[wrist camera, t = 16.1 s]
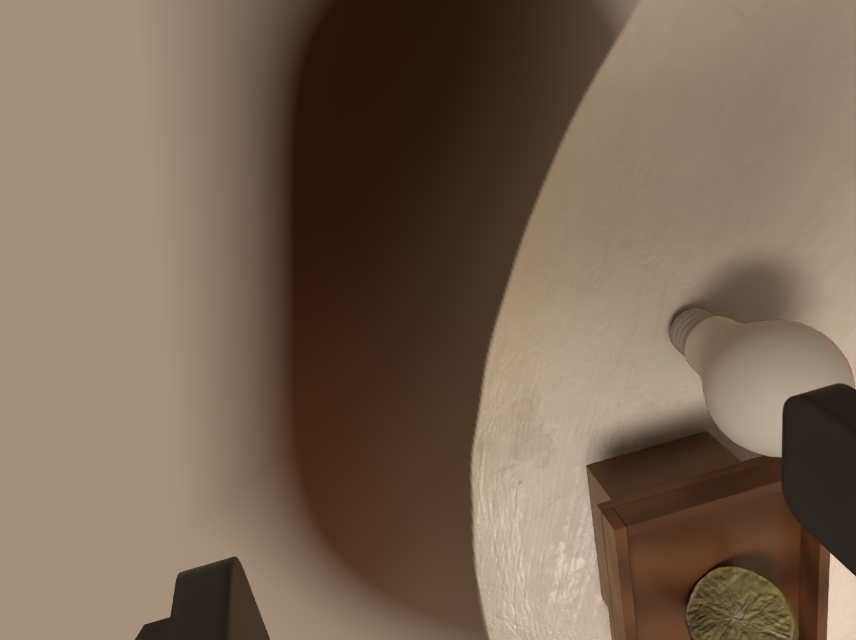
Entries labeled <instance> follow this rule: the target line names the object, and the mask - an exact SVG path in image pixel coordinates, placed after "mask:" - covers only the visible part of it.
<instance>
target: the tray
mask: <svg viewBox="0 0 856 640" xmlns="http://www.w3.org/2000/svg"><path fill="white" fill-rule="evenodd" d="M781 470H782V457H769V456H765V455H764V456H760V457H757V458H753V459H750V460H747V461H743V462H741V461H740V460H739V459H737V458H736V457H735V456H734V455H733V454H732V453H731V452H730V451H728V450H727V449H726V448H725V447H724V446H723V445H722V444H721V443H719V442H718V441H717V440H716V439H715V438H714V437H713V436H712V435H710V434H709V433H708V432H704V433H701V434H697V435H694V436H690V437H686V438H683V439H679V440H676V441H672V442H669V443H665V444H662V445H658V446H655V447H651V448H648V449H644V450H641V451H637V452H634V453H630V454H627V455H623V456H620V457H616V458H613V459H609V460H606V461H602V462H599V463H595V464H592V465H588V466H587V475H588V484H589V492H590V501H591V509H592V517H593V526H594V534H595V543H596V551H597V560H598V568H599V576H600V585H601V593H602V598H603V600H604V602H605V603H606V605H607V607H608V609H609V618H610V627H611V635H612V640H691V638H690V636H689V631H688V629H687V626H686V623H685V615H686V614H687V606H688V603H689V600H690V596H691V594H692V592H693V590H694V588H695V586H696V584H697V583H698V582H699V581H700V580H701V579H702V578H703V577H705V576H706V575H707V574H708V573H709V572H711V571H712V570H714V569H717V568H719V567H727V566H729V567H739V568H744V569H749V570H752V571H755V572H756V573H758V574H760V575H762V576H764V577H765V578H767V579H768V580H770V581H771V582H772V583H774V584H776V585H777V586H778V587H779V588H780V589H781V590H782V591H783V593H784V594H785V595H786V597H787V599H788V601H789V603H790V605H791V608H792V610H793V612H794V614H795V617H796V619H797V623H798V629H799V637H798V640H827V617H828V591H829V566H830V552H829V551H828V550H827V549H826V548H825V547H824V546H823V545H822V544H821V543H819V542H818V541H817V540H816V539H815V538H814V537H813V536H812V535H811V534H810V533H809V532H808V531H807V530H805V529H804V528H803V527H802V526H801V525H800V524H799V523H798V521H797V520H796V519H795V517H794V516H793V514H792V513H791V511H790V509H789V507H788V505H787V503H786V501H785V498H784V495H783V491H782V484H781Z"/></svg>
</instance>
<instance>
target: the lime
mask: <svg viewBox="0 0 856 640" xmlns="http://www.w3.org/2000/svg"><path fill="white" fill-rule="evenodd" d="M685 623H686V626H687V629H688V631H689V636H690V638H691V640H798V637H799V629H798V623H797V619H796V617H795V614H794V612H793V610H792V608H791V605H790V603H789V601H788V599H787V597H786V595H785V594H784V593H783V591H782V590H781V589H780V588H779V587H778V586H777V585H776V584H774V583H772V582H771V581H770V580H768V579H767V578H765V577H764V576H762V575H760V574H758V573H756V572H755V571H752V570H749V569H744V568H739V567H729V566H727V567H719V568H717V569H714V570H712V571H711V572H709V573H708V574H707V575H706V576H705V577H703V578H702V579H701V580H700V581H699V582H698V583H697V584H696V586H695V588H694V590H693V592H692V594H691V596H690V600H689V603H688V606H687V614H686V615H685Z"/></svg>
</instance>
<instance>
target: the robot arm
mask: <svg viewBox="0 0 856 640" xmlns="http://www.w3.org/2000/svg"><path fill="white" fill-rule="evenodd" d="M781 484H782V491H783V495H784V498H785V501H786V503H787V505H788V507H789V509H790V511H791V513H792V514H793V516H794V517H795V519H796V520H797V521H798V523H799V524H800V525H801V526H802V527H803V528H804V529H805V530H807V531H808V532H809V533H810V534H811V535H812V536H813V537H814V538H815V539H816V540H817V541H818V542H819V543H821V544H822V545H823V546H824V547H825V548H826V549H827V550H828V551H829V552H830V553H831V554H832V555H833V556H835V557H836V558H837V559H838V560H839V561H840V562H841V563H842V564H843V565H844V566H845V567H846V568H847V569H849V570H850V571H851V572H852V573H853V574H854V575H855V576H856V389H854V388H852V387H851V386H849V385H846V384H843V383H836V384H832V385H829V386H826V387H822V388H819V389H815V390H812V391H808V392H805V393H801V394H798V395H795V396H791V397H789V398H788V399H787V400H786V401H785V403H784V406H783V412H782V470H781ZM135 640H270V639H269V636H268V633H267V630H266V628H265V625H264V622H263V620H262V617H261V614H260V612H259V609H258V607H257V604H256V601H255V598H254V596H253V593H252V591H251V588H250V585H249V583H248V580H247V577H246V575H245V572H244V569H243V567H242V565H241V563H240V561H239V559H238V558H237V557H231V558H228V559H224V560H221V561H218V562H214V563H211V564H207V565H204V566H200V567H197V568H193V569H190V570H187V571H183V572H180V573H179V574H178V576H177V579H176V584H175V591H174V597H173V604H172V610H171V616H170V617H169V618H166V619H163V620H159V621H156V622H153V623H149V624H146V625H144V626H143V628H142V629H141V631H140V633H139V634H138V636H137V638H136V639H135Z"/></svg>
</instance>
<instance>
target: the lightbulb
mask: <svg viewBox="0 0 856 640" xmlns="http://www.w3.org/2000/svg"><path fill="white" fill-rule="evenodd" d="M670 340H671V342H672V344H673V346H674V347H675V348H676V349H677V350H678V351H679V352H680V353H681V354H683V355H684V356H685V357H686V360H687V362H688V364H689V365H690V366H691V367H692V368H693V369H694V370H695V371H696V372H697V373H698V375H699V376H700V377H701V379H702V386H703V393H704V397H705V402H706V405H707V409H708V412H709V413H710V415H711V417H712V418H713V420H714V422H715V423H716V425H717V426H718V428H719V429H720V430H721V431H722V432H723V433H724V434H725V435H726V436H727V437H728V438H729V439H730V440H731V441H733V442H734V443H736V444H738V445H739V446H741V447H743V448H745V449H747V450H749V451H751V452H755V453H758V454H762V455H765V456H769V457H782V412H783V406H784V403H785V401H786V400H787V399H788V398H789V397H791V396H795V395H798V394H801V393H805V392H808V391H812V390H815V389H819V388H822V387H826V386H829V385H832V384H836V383H843V384H846V385H849V386H851V387H852V388H854V389H855V383H854V378H853V374H852V370H851V367H850V365H849V363H848V360H847V359H846V357H845V356H844V354H843V353H842V352H841V350H840V349H839V348H838V347H837V345H836V344H835V343H834V342H833V341H831V340H830V339H829V338H828V337H827V336H825V335H824V334H823V333H821V332H820V331H818V330H816V329H814V328H812V327H810V326H807V325H804V324H802V323H798V322H793V321H787V320H768V321H758V322H752V323H748V324H743V323H739V322H736V321H734V320H732V319H730V318H727V317H721V316H715V315H713V314H711V313H710V312H707V311H705V310H702V309H698V308H693V309H689V310H686V311H684V312H683V313H681V314H680V315H679V316H678V317H677V318H676V319H675V320H674V322H673V324H672V326H671V329H670Z"/></svg>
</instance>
